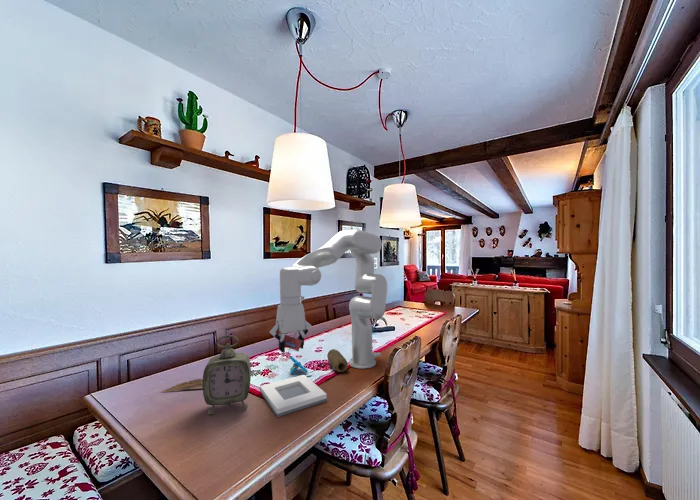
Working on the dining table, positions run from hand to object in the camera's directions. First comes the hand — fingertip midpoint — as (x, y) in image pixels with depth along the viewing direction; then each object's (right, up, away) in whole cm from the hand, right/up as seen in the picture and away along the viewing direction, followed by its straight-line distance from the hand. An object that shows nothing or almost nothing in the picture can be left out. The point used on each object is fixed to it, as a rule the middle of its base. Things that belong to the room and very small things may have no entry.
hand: (291, 349), depth 108 cm
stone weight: (+16, -17, +26) cm, 35 cm away
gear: (-1, -18, +22) cm, 28 cm away
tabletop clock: (-20, -18, -7) cm, 28 cm away
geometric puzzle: (0, -1, 0) cm, 1 cm away
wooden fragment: (-40, -19, +11) cm, 45 cm away
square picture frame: (0, -17, 0) cm, 17 cm away
